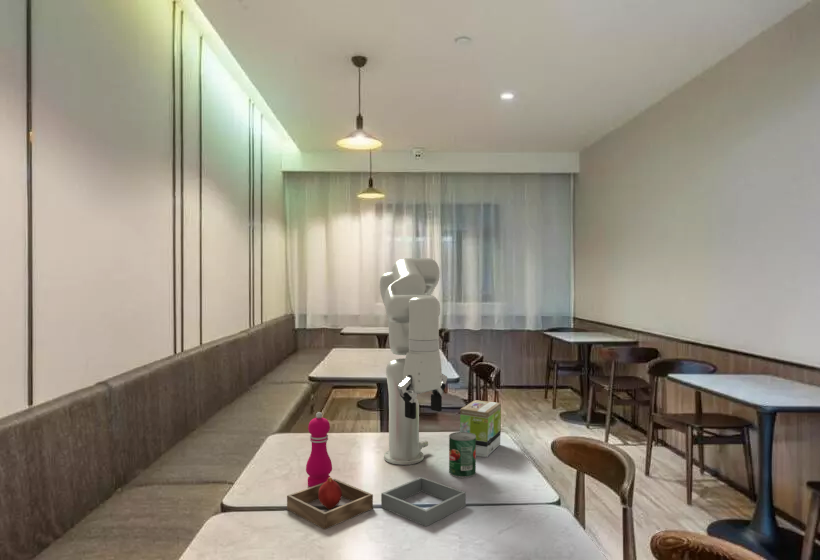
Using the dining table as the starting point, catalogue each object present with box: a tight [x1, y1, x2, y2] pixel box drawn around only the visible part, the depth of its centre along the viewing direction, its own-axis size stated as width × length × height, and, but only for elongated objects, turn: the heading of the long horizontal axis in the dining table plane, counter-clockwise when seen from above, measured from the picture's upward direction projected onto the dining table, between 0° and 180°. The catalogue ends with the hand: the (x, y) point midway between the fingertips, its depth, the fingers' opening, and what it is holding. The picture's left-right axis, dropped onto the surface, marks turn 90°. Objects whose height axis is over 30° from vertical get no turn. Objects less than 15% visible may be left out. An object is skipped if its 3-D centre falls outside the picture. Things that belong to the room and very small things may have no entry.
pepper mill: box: [305, 411, 333, 488], centre depth 149 cm, size 7×7×20 cm
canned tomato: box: [448, 431, 477, 479], centre depth 158 cm, size 8×8×11 cm
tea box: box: [459, 399, 502, 458], centre depth 179 cm, size 15×10×15 cm, turn 155°
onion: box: [318, 476, 342, 511], centre depth 133 cm, size 6×6×8 cm
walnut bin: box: [286, 478, 374, 530], centre depth 133 cm, size 15×15×4 cm
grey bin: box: [380, 476, 467, 527], centre depth 135 cm, size 15×15×4 cm
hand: (423, 414), depth 134 cm, fingers open, 9 cm apart
